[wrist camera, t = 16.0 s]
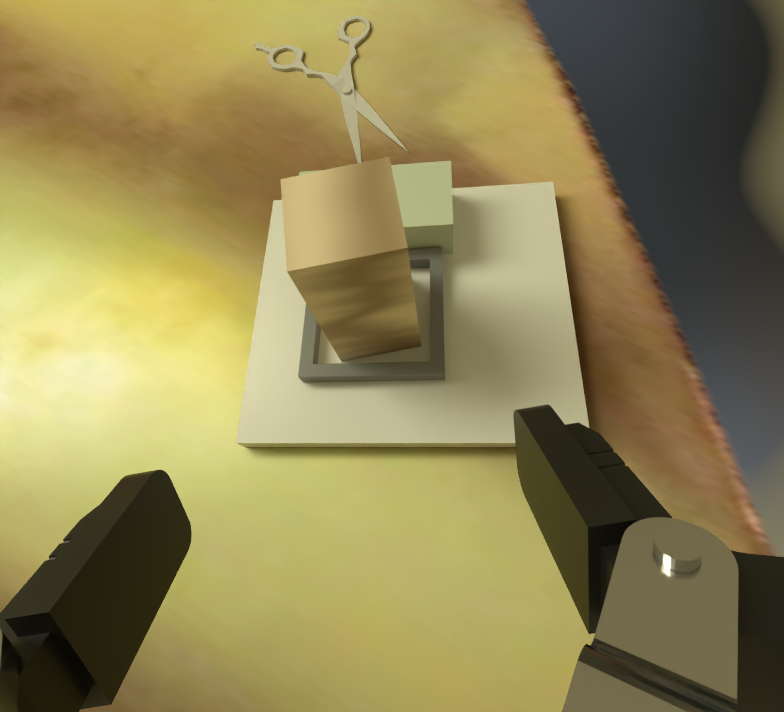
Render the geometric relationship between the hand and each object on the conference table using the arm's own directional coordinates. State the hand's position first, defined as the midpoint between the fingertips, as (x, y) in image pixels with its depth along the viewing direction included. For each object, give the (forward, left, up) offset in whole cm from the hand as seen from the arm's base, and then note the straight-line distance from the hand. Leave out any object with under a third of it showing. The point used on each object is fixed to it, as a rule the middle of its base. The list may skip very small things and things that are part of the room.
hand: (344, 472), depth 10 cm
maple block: (-2, +11, -15) cm, 19 cm away
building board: (0, +13, -16) cm, 20 cm away
